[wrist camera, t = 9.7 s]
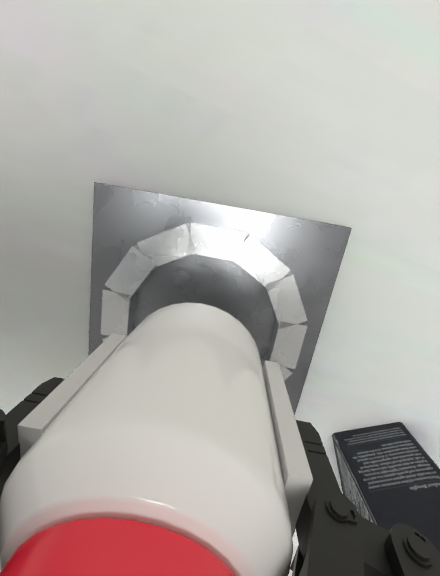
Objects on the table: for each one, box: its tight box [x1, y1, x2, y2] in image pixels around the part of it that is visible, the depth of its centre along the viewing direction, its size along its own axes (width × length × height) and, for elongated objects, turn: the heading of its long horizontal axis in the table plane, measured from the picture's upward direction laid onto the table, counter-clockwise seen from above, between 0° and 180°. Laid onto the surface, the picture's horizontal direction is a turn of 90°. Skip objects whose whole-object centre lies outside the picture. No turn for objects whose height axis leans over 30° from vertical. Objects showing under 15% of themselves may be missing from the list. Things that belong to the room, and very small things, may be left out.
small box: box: [333, 422, 440, 553], centre depth 19 cm, size 11×6×10 cm, turn 15°
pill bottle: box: [0, 302, 293, 576], centre depth 10 cm, size 8×8×11 cm
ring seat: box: [89, 182, 351, 415], centre depth 20 cm, size 18×18×2 cm
